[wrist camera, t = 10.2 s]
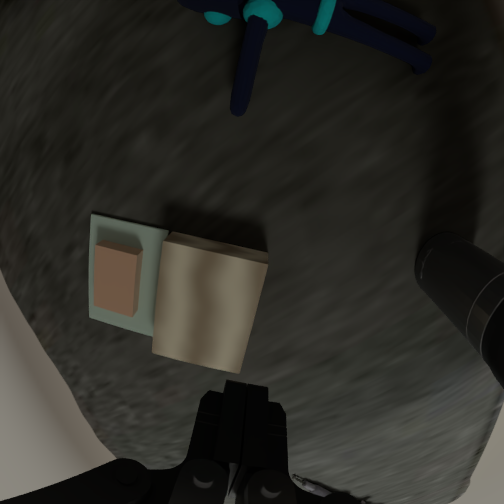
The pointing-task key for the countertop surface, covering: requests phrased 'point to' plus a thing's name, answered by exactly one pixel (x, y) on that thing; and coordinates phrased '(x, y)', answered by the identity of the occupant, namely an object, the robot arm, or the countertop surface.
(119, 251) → the tile
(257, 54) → the toy
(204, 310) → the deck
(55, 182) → the countertop surface
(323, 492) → the adjustable rod
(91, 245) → the mat
